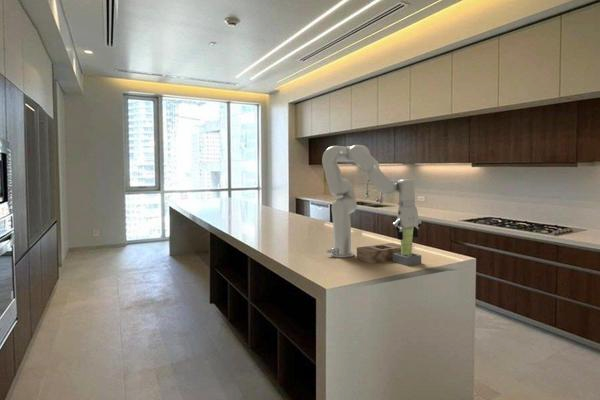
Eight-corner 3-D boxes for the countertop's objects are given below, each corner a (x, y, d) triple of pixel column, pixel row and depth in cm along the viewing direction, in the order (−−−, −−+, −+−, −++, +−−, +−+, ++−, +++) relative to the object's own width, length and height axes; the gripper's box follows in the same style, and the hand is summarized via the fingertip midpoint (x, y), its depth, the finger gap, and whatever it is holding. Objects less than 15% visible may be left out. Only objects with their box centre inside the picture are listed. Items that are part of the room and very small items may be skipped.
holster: (406, 265, 182) (406, 257, 182) (392, 261, 191) (392, 253, 191) (421, 263, 186) (421, 255, 186) (406, 259, 195) (406, 251, 195)
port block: (370, 263, 188) (370, 251, 187) (356, 258, 198) (356, 247, 198) (407, 257, 198) (407, 246, 197) (392, 253, 209) (392, 242, 208)
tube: (404, 260, 193) (404, 222, 191) (413, 261, 189) (413, 223, 188) (399, 262, 189) (399, 223, 187) (408, 264, 185) (408, 224, 184)
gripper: (398, 205, 179) (399, 241, 180) (425, 203, 187) (426, 237, 188) (388, 205, 186) (389, 239, 187) (415, 202, 193) (415, 235, 195)
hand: (407, 238), depth 187 cm, fingers open, 9 cm apart
